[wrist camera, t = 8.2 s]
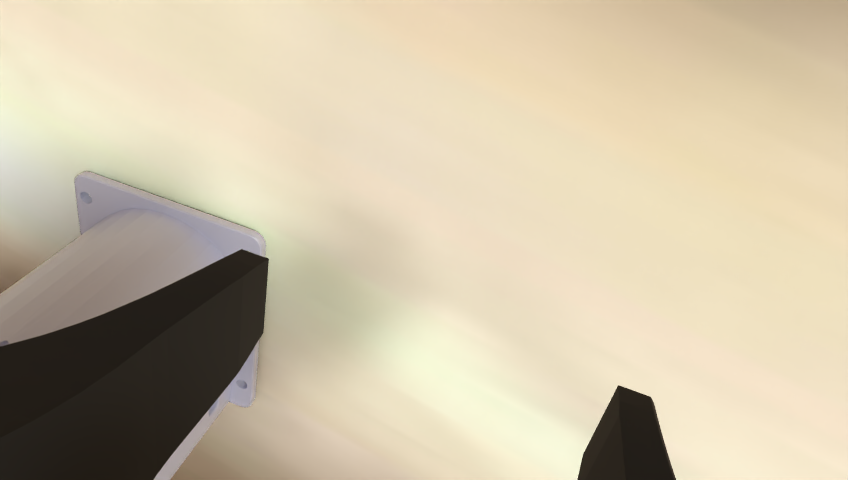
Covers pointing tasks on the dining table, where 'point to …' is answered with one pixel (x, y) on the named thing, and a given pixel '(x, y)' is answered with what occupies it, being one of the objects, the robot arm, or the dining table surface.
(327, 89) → the dining table surface
